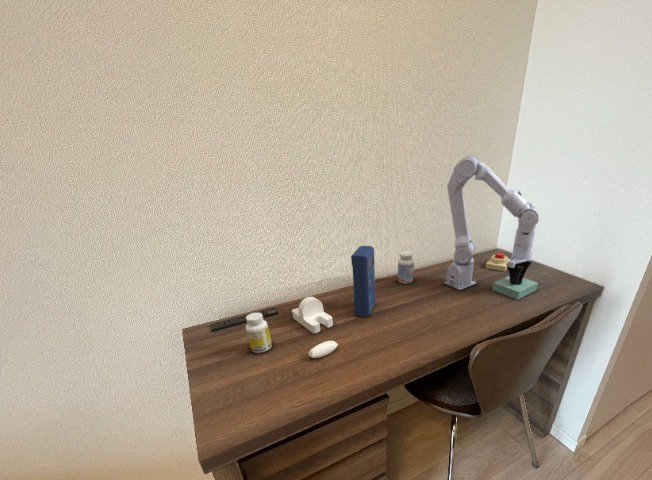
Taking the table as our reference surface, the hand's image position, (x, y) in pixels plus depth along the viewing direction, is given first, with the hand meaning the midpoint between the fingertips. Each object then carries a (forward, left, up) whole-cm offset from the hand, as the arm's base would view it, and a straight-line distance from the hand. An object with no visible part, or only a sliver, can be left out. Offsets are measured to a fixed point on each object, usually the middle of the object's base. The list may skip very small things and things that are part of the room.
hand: (516, 281), depth 114 cm
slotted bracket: (-67, +26, -4) cm, 72 cm away
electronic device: (-50, +22, -4) cm, 55 cm away
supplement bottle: (-84, +22, -4) cm, 87 cm away
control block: (+16, +18, -4) cm, 24 cm away
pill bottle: (-25, +31, -4) cm, 40 cm away
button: (+16, +18, 0) cm, 24 cm away
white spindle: (-72, +9, -4) cm, 73 cm away
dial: (0, 0, -1) cm, 1 cm away
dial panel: (0, 0, -4) cm, 4 cm away
